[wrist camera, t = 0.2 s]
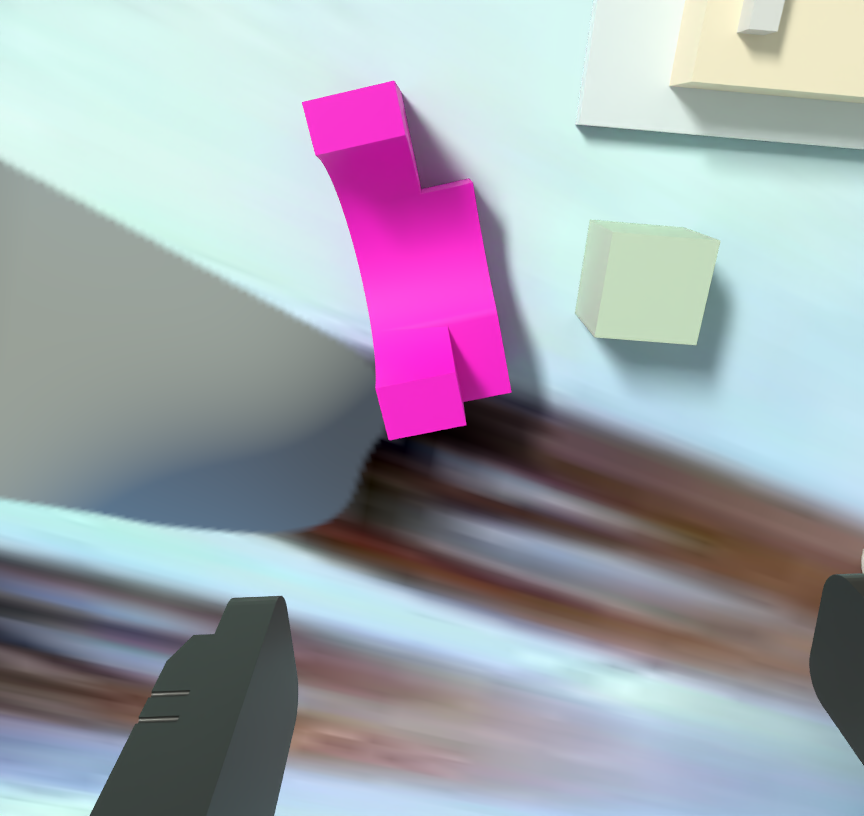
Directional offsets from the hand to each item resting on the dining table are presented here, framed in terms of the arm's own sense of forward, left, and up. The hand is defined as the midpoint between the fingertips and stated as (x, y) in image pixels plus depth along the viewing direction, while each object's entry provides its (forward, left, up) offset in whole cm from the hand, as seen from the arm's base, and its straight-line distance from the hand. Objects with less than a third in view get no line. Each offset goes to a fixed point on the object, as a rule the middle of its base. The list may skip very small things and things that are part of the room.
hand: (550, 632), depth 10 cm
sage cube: (-1, +9, -29) cm, 30 cm away
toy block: (-1, -2, -29) cm, 29 cm away
